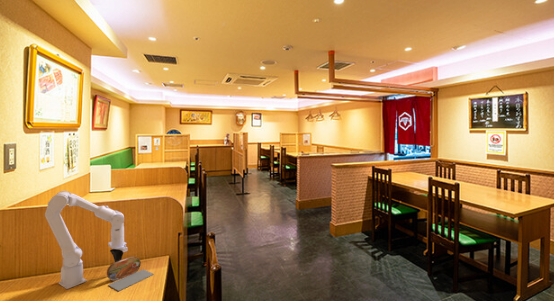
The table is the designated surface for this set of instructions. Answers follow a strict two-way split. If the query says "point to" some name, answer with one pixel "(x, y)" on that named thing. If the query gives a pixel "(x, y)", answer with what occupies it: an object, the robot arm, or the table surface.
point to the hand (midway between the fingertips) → (118, 262)
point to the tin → (123, 268)
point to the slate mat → (130, 280)
